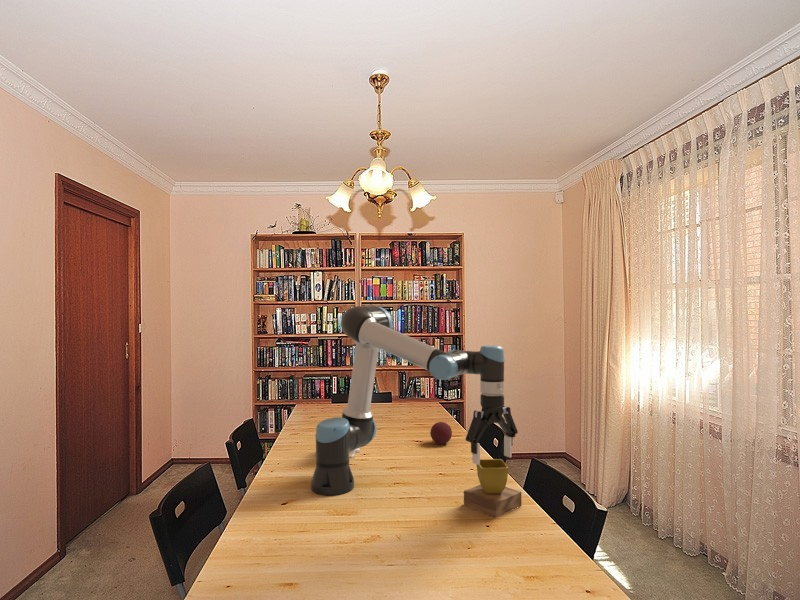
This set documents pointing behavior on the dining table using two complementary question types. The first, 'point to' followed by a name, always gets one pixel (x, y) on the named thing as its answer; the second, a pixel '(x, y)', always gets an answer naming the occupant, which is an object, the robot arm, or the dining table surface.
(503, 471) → the flower pot
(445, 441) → the decorative ball
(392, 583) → the dining table surface
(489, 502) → the walnut block
